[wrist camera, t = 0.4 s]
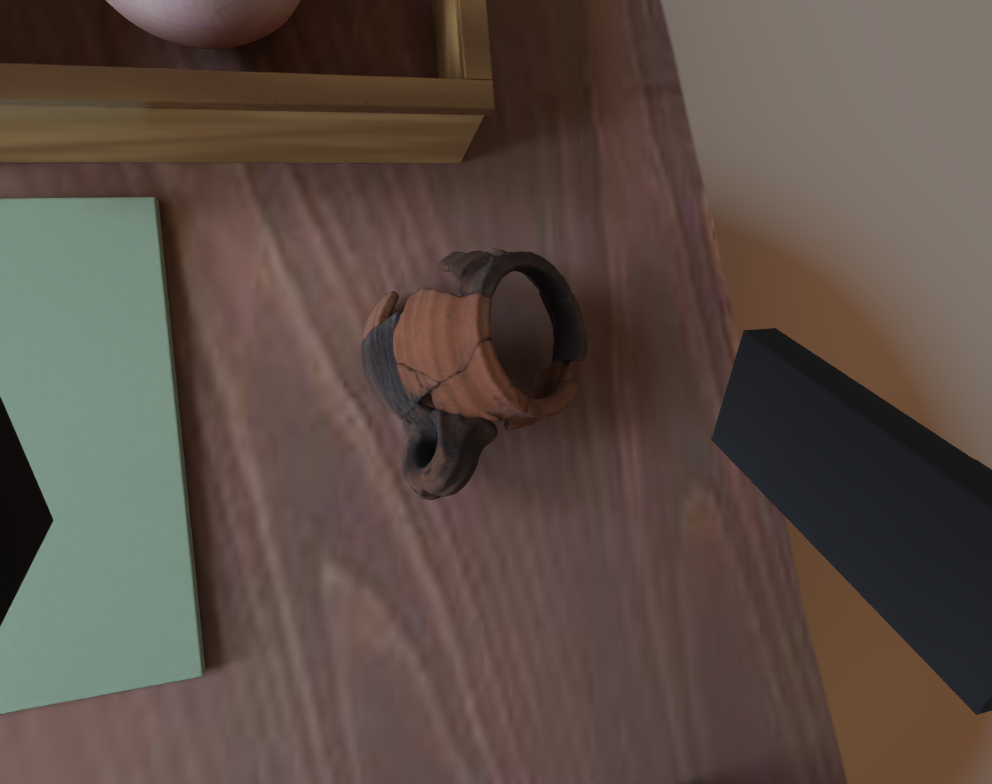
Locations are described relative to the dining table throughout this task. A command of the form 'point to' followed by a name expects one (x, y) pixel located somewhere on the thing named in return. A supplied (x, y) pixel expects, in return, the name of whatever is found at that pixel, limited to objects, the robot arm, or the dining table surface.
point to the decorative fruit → (207, 20)
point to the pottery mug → (464, 366)
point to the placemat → (95, 453)
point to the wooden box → (254, 109)
